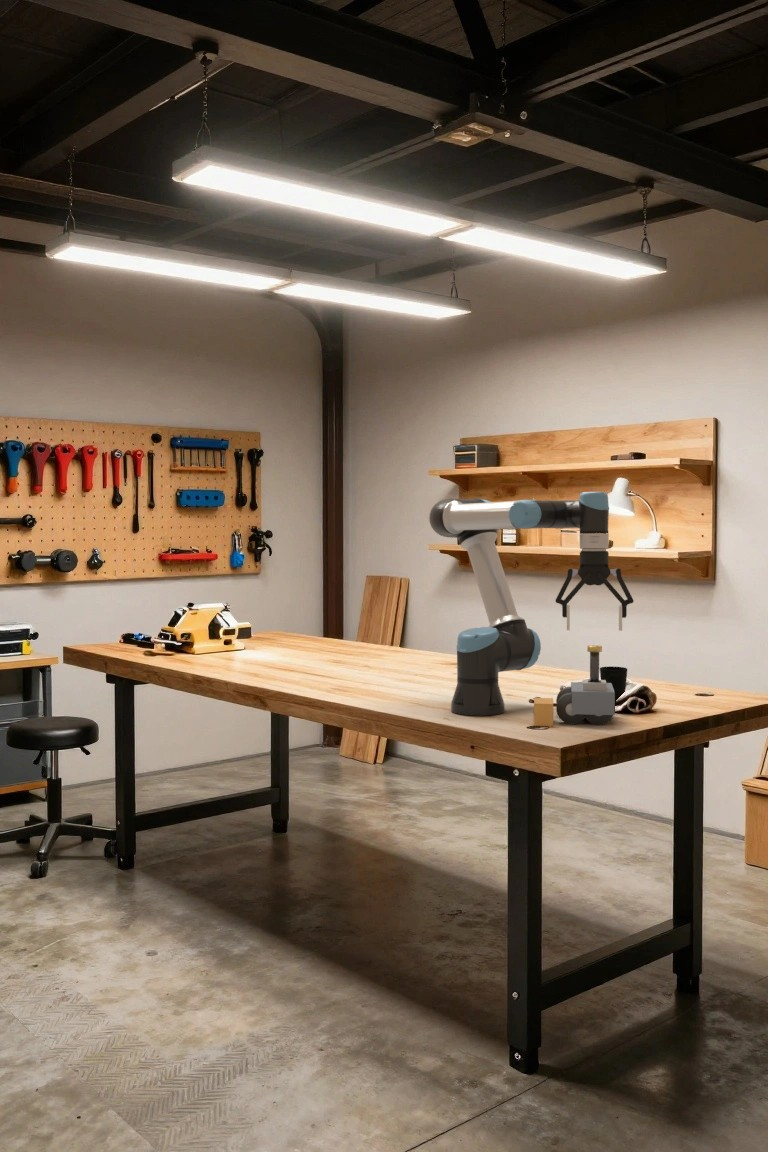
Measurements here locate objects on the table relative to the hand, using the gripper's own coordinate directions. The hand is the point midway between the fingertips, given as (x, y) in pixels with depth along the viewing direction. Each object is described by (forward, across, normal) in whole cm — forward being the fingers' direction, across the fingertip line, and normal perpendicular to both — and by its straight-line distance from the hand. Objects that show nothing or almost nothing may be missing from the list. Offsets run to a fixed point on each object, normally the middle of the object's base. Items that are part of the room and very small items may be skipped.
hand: (594, 630), depth 273 cm
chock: (+25, -13, -2) cm, 28 cm away
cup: (+25, +6, +20) cm, 32 cm away
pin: (+16, 0, 0) cm, 16 cm away
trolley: (+25, -3, +3) cm, 25 cm away
